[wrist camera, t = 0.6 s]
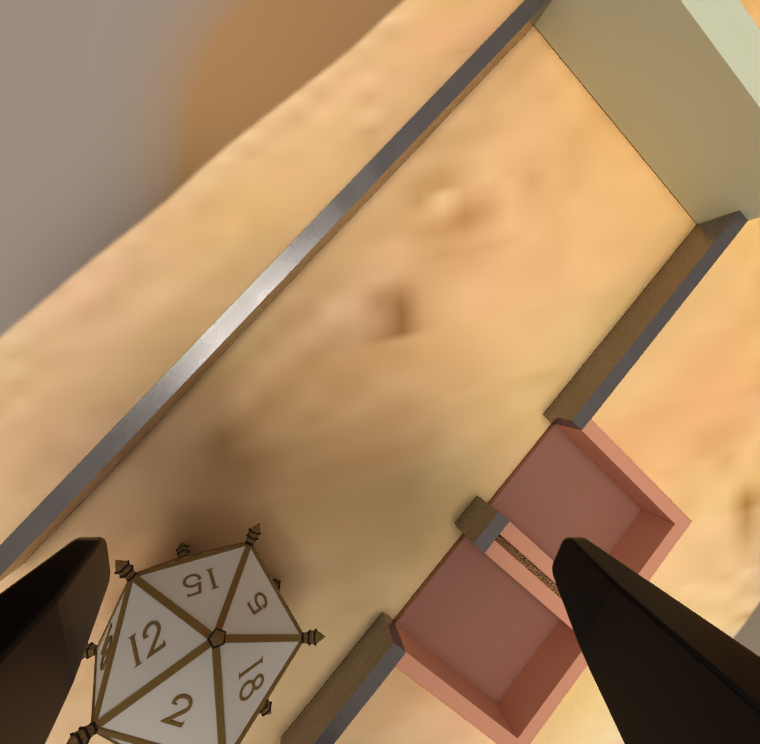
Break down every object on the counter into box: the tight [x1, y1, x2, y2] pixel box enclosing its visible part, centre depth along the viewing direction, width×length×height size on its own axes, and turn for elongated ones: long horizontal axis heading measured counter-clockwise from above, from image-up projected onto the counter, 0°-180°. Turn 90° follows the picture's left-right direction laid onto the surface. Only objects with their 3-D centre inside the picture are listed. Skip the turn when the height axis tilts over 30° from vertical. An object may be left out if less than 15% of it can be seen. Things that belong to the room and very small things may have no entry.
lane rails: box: [0, 0, 748, 744], centre depth 21 cm, size 38×17×2 cm, turn 138°
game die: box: [67, 523, 325, 744], centre depth 17 cm, size 9×8×10 cm
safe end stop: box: [534, 0, 760, 224], centre depth 22 cm, size 2×17×6 cm, turn 48°
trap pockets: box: [394, 419, 692, 744], centre depth 23 cm, size 16×9×2 cm, turn 138°
